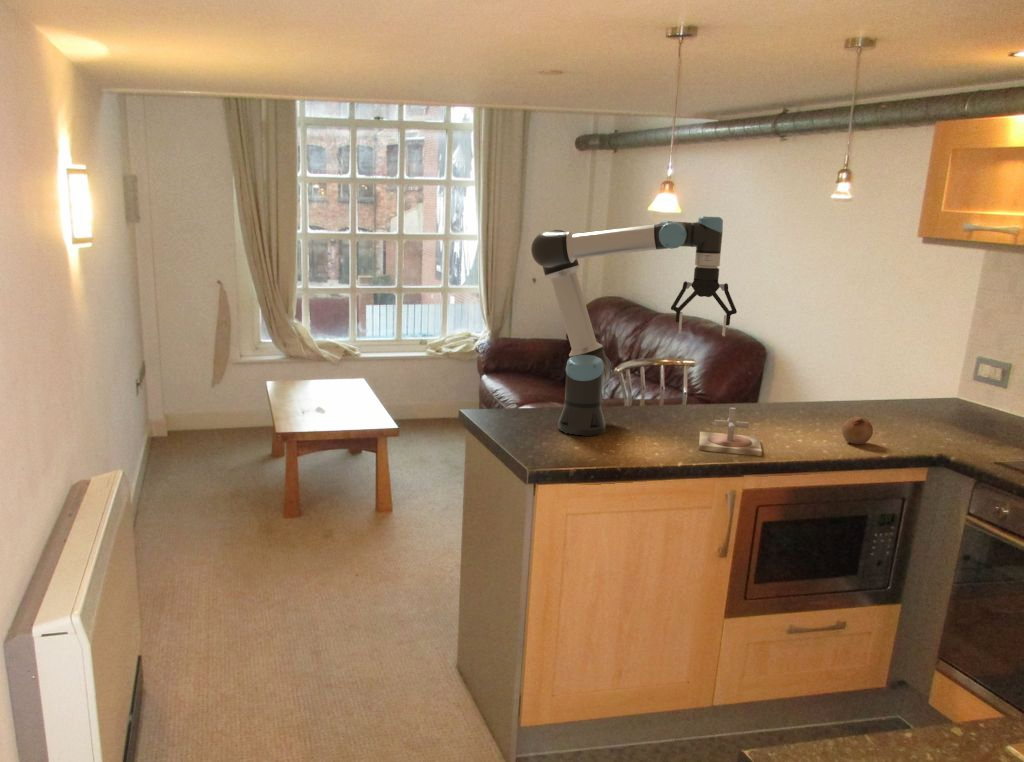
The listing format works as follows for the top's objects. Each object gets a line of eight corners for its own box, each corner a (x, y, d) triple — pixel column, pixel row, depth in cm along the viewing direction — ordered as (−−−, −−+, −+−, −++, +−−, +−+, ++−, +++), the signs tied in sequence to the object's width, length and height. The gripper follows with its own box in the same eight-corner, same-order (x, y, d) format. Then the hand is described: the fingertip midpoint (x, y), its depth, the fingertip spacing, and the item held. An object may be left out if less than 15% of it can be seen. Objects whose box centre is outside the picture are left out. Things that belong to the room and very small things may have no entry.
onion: (858, 455, 254) (863, 432, 248) (833, 441, 260) (838, 418, 254) (876, 441, 257) (881, 419, 251) (851, 428, 263) (856, 405, 258)
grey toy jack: (748, 445, 243) (751, 413, 241) (713, 442, 245) (716, 410, 243) (745, 436, 252) (748, 405, 250) (712, 434, 254) (715, 403, 252)
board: (698, 449, 243) (699, 444, 243) (699, 436, 259) (700, 430, 258) (761, 456, 239) (761, 450, 239) (758, 441, 255) (759, 435, 254)
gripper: (665, 265, 253) (661, 333, 257) (748, 269, 247) (742, 338, 252) (667, 264, 260) (662, 329, 265) (747, 268, 254) (741, 335, 259)
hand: (701, 334), depth 258 cm, fingers open, 13 cm apart
